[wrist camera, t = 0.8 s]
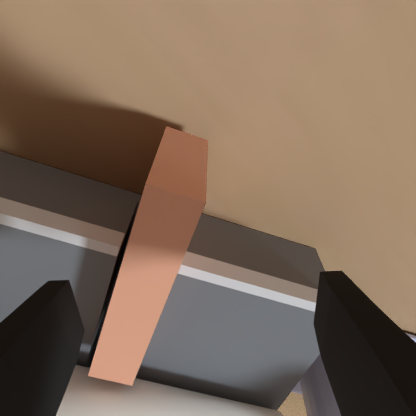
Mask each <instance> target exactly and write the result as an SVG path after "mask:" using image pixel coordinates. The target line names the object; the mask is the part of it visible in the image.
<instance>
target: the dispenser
mask: <svg viewBox="0 0 416 416" xmlns="http://www.w3.org/2000/svg"><path fill="white" fill-rule="evenodd" d="M141 197H142V195H140V194H137V193H134V192H131V191H128V190H124V189H121V188H118V187H115V186H111V185H108V184H105V183H102V182H99V181H95V180H92V179H89V178H86V177H82V176H79V175H76V174H73V173H70V172H66V171H63V170H60V169H57V168H53V167H50V166H47V165H44V164H41V163H37V162H34V161H31V160H28V159H24V158H21V157H18V156H15V155H12V154H8V153H5V152H2V151H0V322H1V321H3V320H4V319H5V318H6V317H7V316H8V315H10V314H11V313H12V312H13V311H14V310H15V309H16V308H17V307H19V306H20V305H21V304H22V303H23V302H24V301H25V300H26V299H28V298H29V297H30V296H31V295H32V294H33V293H34V292H36V291H37V290H38V289H39V288H40V287H41V286H43V285H44V284H45V283H46V282H48V281H52V280H69V281H70V284H71V287H72V291H73V294H74V297H75V300H76V304H77V307H78V310H79V313H80V316H81V320H82V323H83V326H84V329H85V331H84V335H83V339H82V343H81V347H80V351H79V355H78V359H77V362H76V365H75V368H74V371H73V373H72V376H71V379H70V381H69V384H68V386H67V389H66V391H65V394H64V396H63V399H62V402H61V404H60V407H59V409H58V412H57V414H56V416H283V415H282V413H281V412H279V411H277V409H278V408H279V407H280V406H281V404H282V403H283V402H284V400H285V399H286V398H287V396H288V395H289V394H290V392H291V391H292V390H293V388H294V387H295V386H296V385H297V383H298V382H299V381H300V379H301V378H302V377H303V375H304V374H305V373H306V371H307V370H308V369H309V368H310V366H311V365H312V364H313V362H314V361H315V360H316V358H317V357H318V356H319V354H320V351H319V347H318V343H317V338H316V333H315V329H314V324H313V323H314V315H315V307H316V299H317V291H318V283H319V275H320V272H325V270H324V268H323V265H322V263H321V261H320V258H319V256H318V253H317V251H316V249H315V248H311V247H308V246H305V245H302V244H298V243H295V242H292V241H289V240H285V239H282V238H279V237H276V236H273V235H269V234H266V233H263V232H260V231H256V230H253V229H250V228H247V227H244V226H240V225H237V224H234V223H231V222H227V221H224V220H221V219H218V218H215V217H211V216H208V215H205V214H201V216H200V219H199V221H198V224H197V226H196V229H195V231H194V233H193V236H192V238H191V241H190V243H189V246H188V248H187V251H186V253H185V256H184V258H183V261H182V263H181V266H180V268H179V271H178V273H177V276H176V278H175V281H174V283H173V286H172V288H171V291H170V293H169V296H168V298H167V300H166V303H165V305H164V308H163V310H162V313H161V315H160V318H159V320H158V323H157V325H156V328H155V330H154V333H153V335H152V338H151V340H150V343H149V345H148V348H147V350H146V353H145V355H144V358H143V360H142V362H141V365H140V367H139V370H138V372H137V375H136V377H135V380H134V382H133V385H132V386H131V385H126V384H122V383H117V382H113V381H108V380H104V379H99V378H95V377H90V376H88V374H89V371H90V367H91V364H92V361H93V357H94V354H95V351H96V347H97V344H98V341H99V337H100V334H101V331H102V327H103V324H104V320H105V317H106V314H107V310H108V307H109V304H110V300H111V297H112V294H113V290H114V287H115V284H116V280H117V277H118V274H119V270H120V267H121V264H122V260H123V257H124V254H125V250H126V247H127V244H128V240H129V237H130V234H131V230H132V227H133V224H134V220H135V217H136V214H137V210H138V207H139V204H140V200H141Z"/></svg>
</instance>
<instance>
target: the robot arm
mask: <svg viewBox="0 0 416 416" xmlns="http://www.w3.org/2000/svg"><path fill="white" fill-rule="evenodd" d="M313 324H314V329H315V333H316V338H317V343H318V347H319V351H320V354H319V356H318V357H317V358H316V360H315V361H314V362H313V364H312V365H311V366H310V368H309V369H308V370H307V371H306V373H305V374H304V375H303V377H302V378H301V379H300V381H299V382H298V383H297V385H296V386H295V387H294V388H293V390H292V391H291V392H295V393H299V394H302V395H303V399H304V403H305V408H306V412H307V416H416V336H414V335H411V334H407V333H405V332H404V331H403V330H402V329H401V328H399V327H398V326H397V325H396V324H395V323H394V322H393V321H392V320H391V319H390V318H389V317H388V316H387V315H386V314H385V313H384V312H382V311H381V310H380V309H379V308H378V307H377V306H376V305H375V304H374V303H373V302H372V301H371V300H370V299H369V298H368V297H367V296H366V295H365V294H364V293H363V292H362V291H361V290H360V289H359V288H358V287H357V286H356V285H355V284H354V283H353V282H352V280H351V279H350V278H349V277H348V276H347V275H345V274H344V273H343V272H342V271H325V272H320V275H319V283H318V291H317V299H316V307H315V315H314V323H313ZM84 331H85V329H84V326H83V323H82V320H81V316H80V313H79V310H78V307H77V304H76V300H75V297H74V294H73V291H72V287H71V284H70V281H69V280H52V281H48V282H46V283H45V284H44V285H43V286H41V287H40V288H39V289H38V290H37V291H36V292H34V293H33V294H32V295H31V296H30V297H29V298H28V299H26V300H25V301H24V302H23V303H22V304H21V305H20V306H19V307H17V308H16V309H15V310H14V311H13V312H12V313H11V314H10V315H8V316H7V317H6V318H5V319H4V320H3V321H1V322H0V416H56V414H57V412H58V409H59V407H60V404H61V402H62V399H63V396H64V394H65V391H66V389H67V386H68V384H69V381H70V379H71V376H72V373H73V371H74V368H75V365H76V362H77V359H78V355H79V351H80V347H81V343H82V339H83V335H84Z"/></svg>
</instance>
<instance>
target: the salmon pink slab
mask: <svg viewBox="0 0 416 416" xmlns="http://www.w3.org/2000/svg"><path fill="white" fill-rule="evenodd" d="M207 151H208V140H205V139H202V138H199V137H196V136H194V135H191V134H188V133H185V132H182V131H179V130H176V129H173V128H170V127H167V126H166V129H165V132H164V134H163V137H162V140H161V142H160V145H159V148H158V151H157V153H156V156H155V159H154V162H153V164H152V167H151V170H150V173H149V175H148V178H147V181H146V184H145V187H144V190H143V194H142V197H141V200H140V204H139V207H138V210H137V214H136V217H135V220H134V224H133V227H132V230H131V234H130V237H129V240H128V244H127V247H126V250H125V254H124V257H123V260H122V264H121V267H120V270H119V274H118V277H117V280H116V284H115V287H114V290H113V294H112V297H111V300H110V304H109V307H108V310H107V314H106V317H105V320H104V324H103V327H102V331H101V334H100V337H99V341H98V344H97V347H96V351H95V354H94V357H93V361H92V364H91V367H90V371H89V374H88V376H90V377H95V378H99V379H104V380H108V381H113V382H117V383H122V384H126V385H131V386H132V385H133V382H134V380H135V377H136V375H137V372H138V370H139V367H140V365H141V362H142V360H143V358H144V355H145V353H146V350H147V348H148V345H149V343H150V340H151V338H152V335H153V333H154V330H155V328H156V325H157V323H158V320H159V318H160V315H161V313H162V310H163V308H164V305H165V303H166V300H167V298H168V296H169V293H170V291H171V288H172V286H173V283H174V281H175V278H176V276H177V273H178V271H179V268H180V266H181V263H182V261H183V258H184V256H185V253H186V251H187V248H188V246H189V243H190V241H191V238H192V236H193V233H194V231H195V229H196V226H197V224H198V221H199V219H200V216H201V214H202V211H203V209H204V206H205V204H206V183H207Z"/></svg>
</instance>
